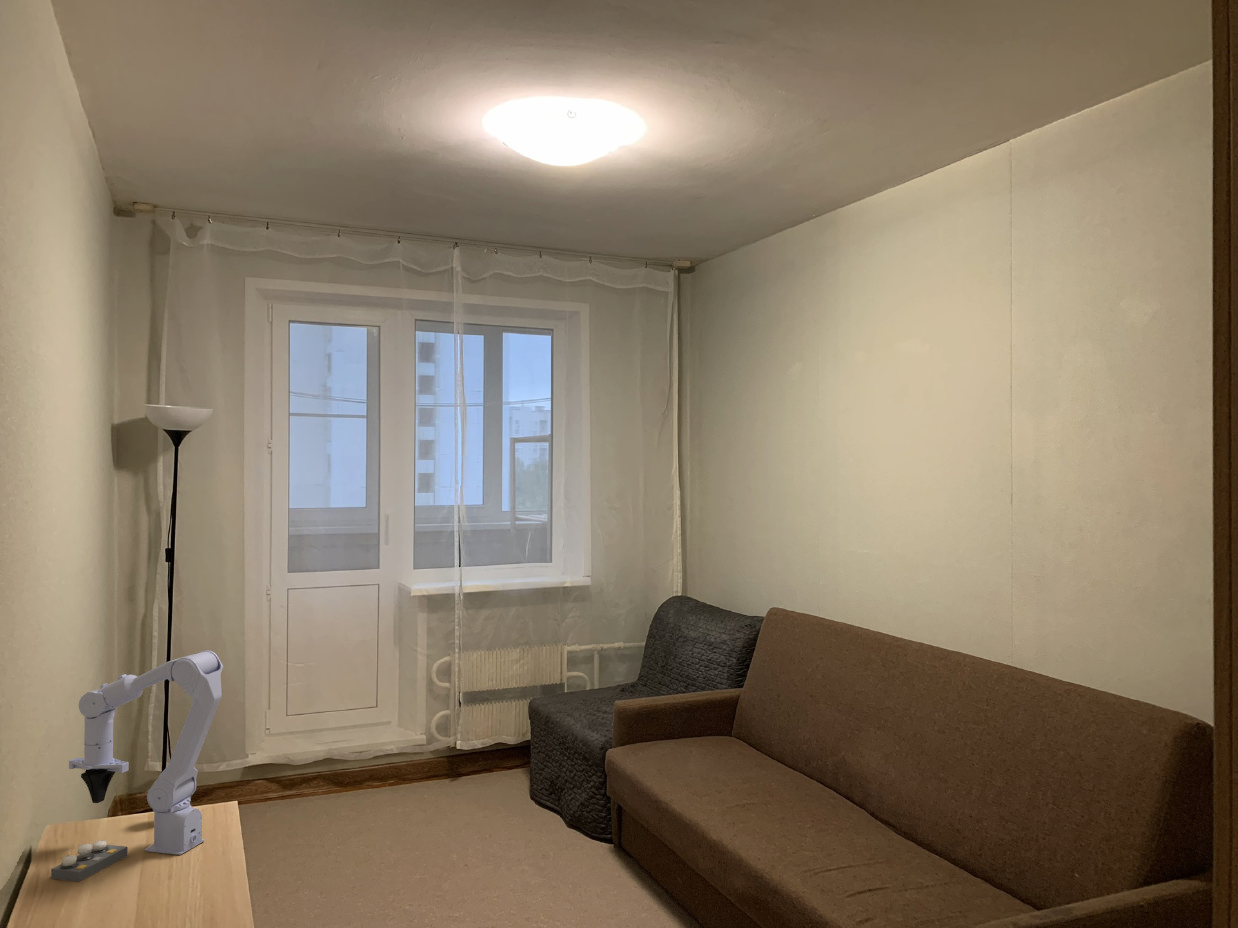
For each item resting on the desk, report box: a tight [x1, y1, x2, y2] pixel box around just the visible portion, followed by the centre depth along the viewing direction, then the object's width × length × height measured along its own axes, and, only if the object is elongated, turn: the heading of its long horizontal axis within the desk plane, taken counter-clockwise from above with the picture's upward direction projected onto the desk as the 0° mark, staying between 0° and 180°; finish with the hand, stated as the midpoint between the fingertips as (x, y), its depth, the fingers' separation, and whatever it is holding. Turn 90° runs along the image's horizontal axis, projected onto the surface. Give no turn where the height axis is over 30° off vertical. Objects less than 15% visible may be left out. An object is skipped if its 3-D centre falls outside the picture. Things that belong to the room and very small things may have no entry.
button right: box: [92, 840, 108, 851], centre depth 193 cm, size 3×3×1 cm
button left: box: [61, 854, 78, 866], centre depth 185 cm, size 3×3×1 cm
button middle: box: [77, 843, 93, 855], centre depth 189 cm, size 3×3×1 cm
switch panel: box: [50, 844, 129, 883], centre depth 189 cm, size 7×13×2 cm, turn 167°
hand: (98, 801), depth 202 cm, fingers closed
